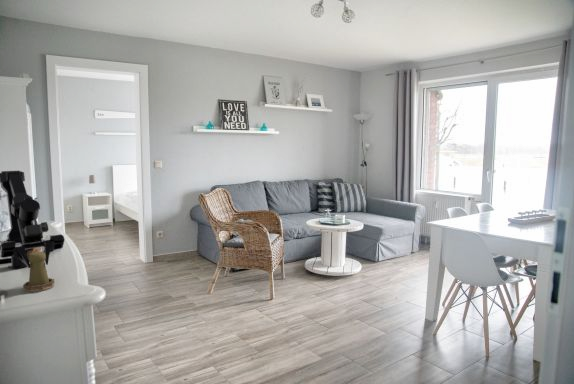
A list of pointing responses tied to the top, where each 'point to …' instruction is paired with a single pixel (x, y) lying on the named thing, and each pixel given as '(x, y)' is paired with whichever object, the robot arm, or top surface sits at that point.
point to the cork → (37, 269)
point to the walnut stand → (39, 286)
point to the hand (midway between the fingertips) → (38, 265)
